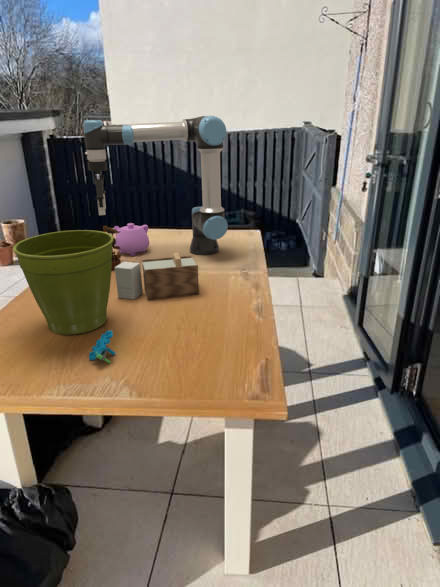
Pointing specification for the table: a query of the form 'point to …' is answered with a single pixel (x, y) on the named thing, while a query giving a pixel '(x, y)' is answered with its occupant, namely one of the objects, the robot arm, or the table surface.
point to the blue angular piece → (102, 347)
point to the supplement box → (128, 280)
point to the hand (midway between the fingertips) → (102, 211)
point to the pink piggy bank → (132, 239)
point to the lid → (169, 263)
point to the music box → (115, 258)
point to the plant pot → (69, 277)
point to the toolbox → (170, 280)
